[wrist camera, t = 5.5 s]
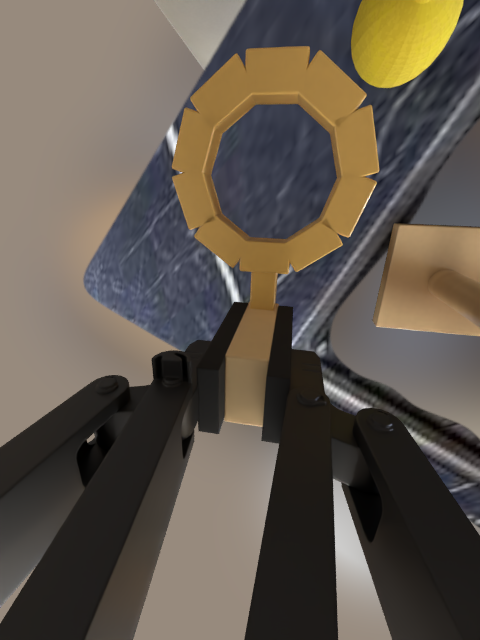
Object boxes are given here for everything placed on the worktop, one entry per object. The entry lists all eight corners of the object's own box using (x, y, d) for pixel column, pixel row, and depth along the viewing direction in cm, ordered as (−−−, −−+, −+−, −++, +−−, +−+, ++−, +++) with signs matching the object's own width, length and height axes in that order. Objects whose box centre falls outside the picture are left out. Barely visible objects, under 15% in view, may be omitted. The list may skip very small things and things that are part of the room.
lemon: (346, 11, 21) (374, -91, 13) (434, -2, 20) (515, -119, 12) (339, 106, 23) (359, 62, 15) (418, 99, 22) (479, 49, 14)
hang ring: (178, 66, 12) (85, -37, 7) (392, 58, 11) (484, -76, 6) (189, 343, 17) (141, 409, 12) (337, 359, 16) (358, 442, 11)
